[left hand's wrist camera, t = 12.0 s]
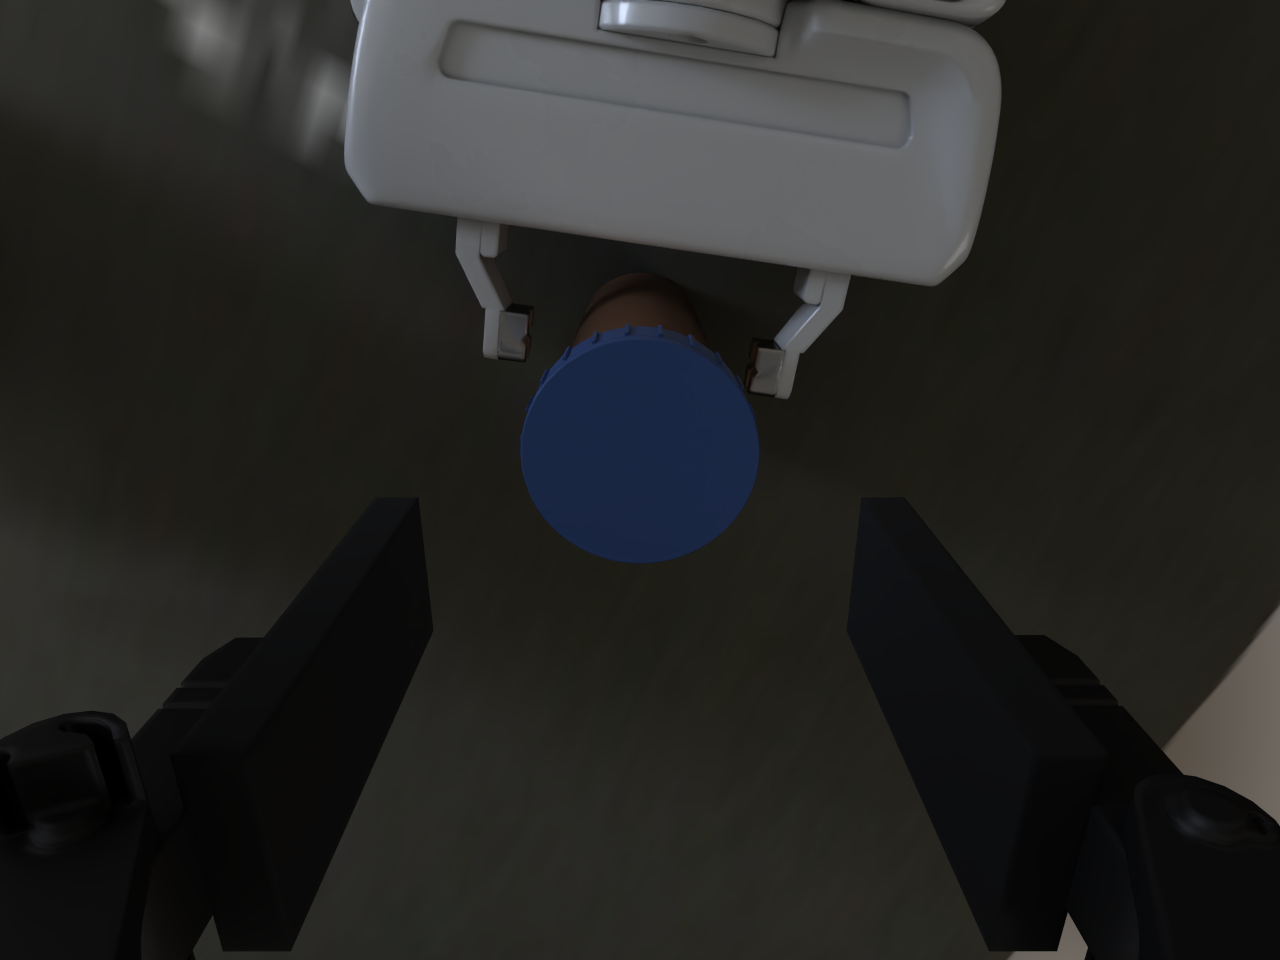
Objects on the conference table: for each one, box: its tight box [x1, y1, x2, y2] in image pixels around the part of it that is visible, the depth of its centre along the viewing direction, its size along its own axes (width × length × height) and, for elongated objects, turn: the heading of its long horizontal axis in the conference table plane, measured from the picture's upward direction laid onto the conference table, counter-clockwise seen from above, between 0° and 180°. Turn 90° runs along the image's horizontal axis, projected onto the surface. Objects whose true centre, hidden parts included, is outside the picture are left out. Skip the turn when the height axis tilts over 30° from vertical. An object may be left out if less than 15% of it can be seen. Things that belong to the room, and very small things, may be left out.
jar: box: [571, 273, 710, 350], centre depth 27 cm, size 5×5×15 cm
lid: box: [520, 324, 760, 563], centre depth 20 cm, size 6×6×2 cm
